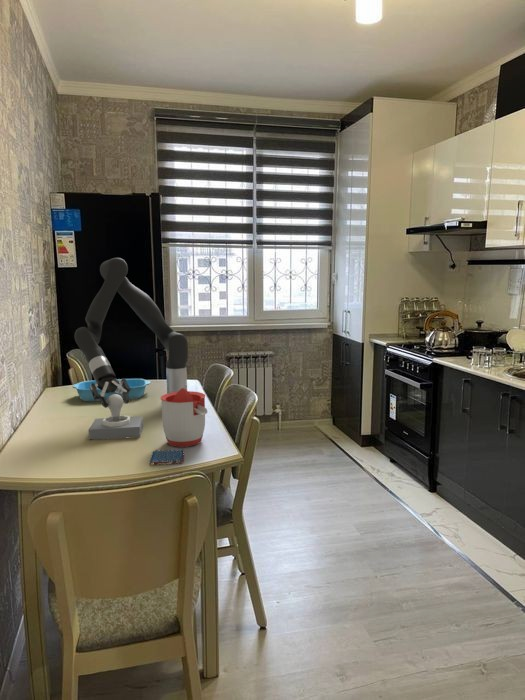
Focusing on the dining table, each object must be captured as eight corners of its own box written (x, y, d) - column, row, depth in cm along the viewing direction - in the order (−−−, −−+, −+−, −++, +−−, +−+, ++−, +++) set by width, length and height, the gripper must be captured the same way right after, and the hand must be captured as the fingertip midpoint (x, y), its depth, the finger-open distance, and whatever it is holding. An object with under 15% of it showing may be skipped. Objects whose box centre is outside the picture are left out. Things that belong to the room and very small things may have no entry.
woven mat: (183, 466, 155) (183, 459, 155) (149, 467, 154) (148, 461, 154) (185, 454, 166) (185, 448, 165) (153, 455, 165) (153, 449, 164)
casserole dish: (150, 389, 260) (149, 376, 259) (151, 399, 238) (150, 385, 237) (76, 394, 251) (75, 380, 250) (70, 405, 229) (69, 390, 228)
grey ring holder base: (143, 426, 195) (142, 412, 195) (139, 437, 182) (139, 422, 181) (96, 428, 193) (95, 414, 192) (89, 440, 179) (88, 425, 178)
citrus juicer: (191, 453, 164) (189, 395, 161) (153, 444, 174) (150, 389, 171) (219, 440, 178) (218, 386, 175) (182, 432, 187) (180, 381, 184)
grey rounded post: (109, 425, 183) (107, 396, 181) (106, 421, 188) (104, 393, 187) (126, 423, 185) (124, 394, 184) (122, 419, 191) (121, 391, 189)
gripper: (86, 366, 184) (102, 402, 177) (121, 362, 194) (137, 395, 187) (81, 378, 189) (96, 413, 182) (115, 373, 198) (131, 406, 192)
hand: (117, 404), depth 185 cm, fingers open, 8 cm apart
